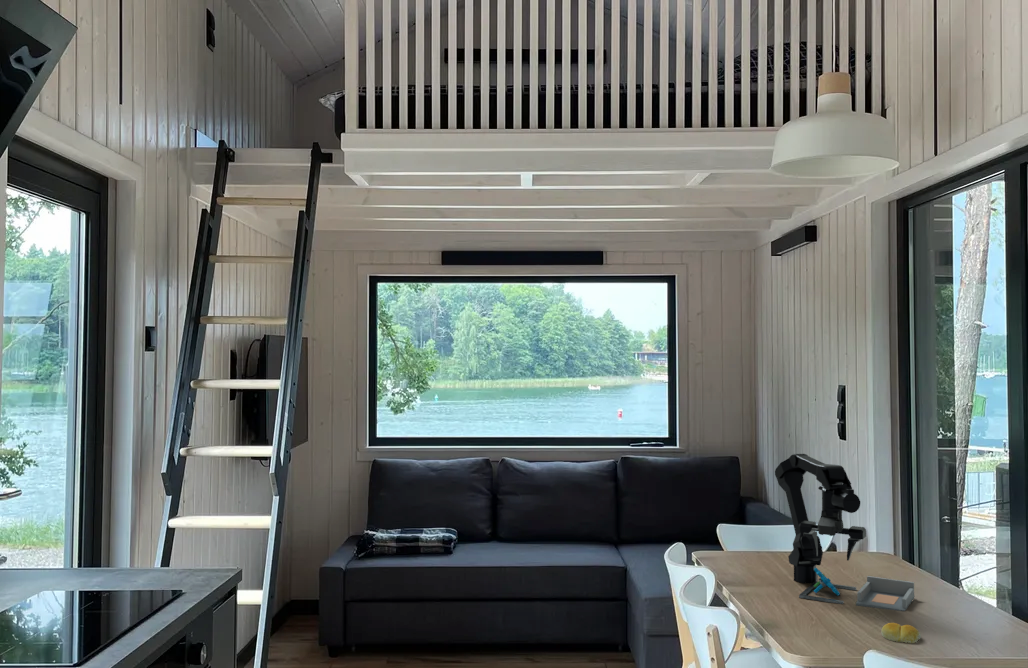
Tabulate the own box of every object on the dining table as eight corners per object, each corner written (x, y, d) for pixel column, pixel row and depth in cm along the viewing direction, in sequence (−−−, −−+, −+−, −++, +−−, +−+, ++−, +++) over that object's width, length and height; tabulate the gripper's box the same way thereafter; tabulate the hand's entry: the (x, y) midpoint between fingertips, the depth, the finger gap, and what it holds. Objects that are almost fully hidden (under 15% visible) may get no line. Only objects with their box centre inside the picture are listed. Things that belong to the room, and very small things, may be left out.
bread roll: (884, 632, 218) (884, 616, 218) (922, 640, 213) (922, 624, 213) (877, 640, 211) (878, 624, 211) (916, 648, 206) (917, 632, 206)
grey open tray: (855, 606, 243) (855, 588, 243) (868, 591, 258) (868, 575, 258) (904, 613, 235) (904, 595, 236) (914, 598, 250) (914, 581, 251)
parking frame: (799, 597, 251) (799, 595, 251) (814, 583, 267) (814, 581, 267) (842, 604, 244) (842, 601, 244) (856, 589, 260) (856, 587, 260)
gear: (844, 596, 249) (819, 570, 251) (829, 609, 250) (804, 583, 251) (838, 586, 260) (814, 561, 261) (823, 599, 261) (800, 574, 262)
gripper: (793, 507, 254) (793, 559, 254) (858, 514, 244) (859, 568, 243) (803, 502, 263) (803, 552, 263) (866, 508, 253) (866, 560, 253)
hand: (832, 558), depth 255 cm, fingers open, 9 cm apart
